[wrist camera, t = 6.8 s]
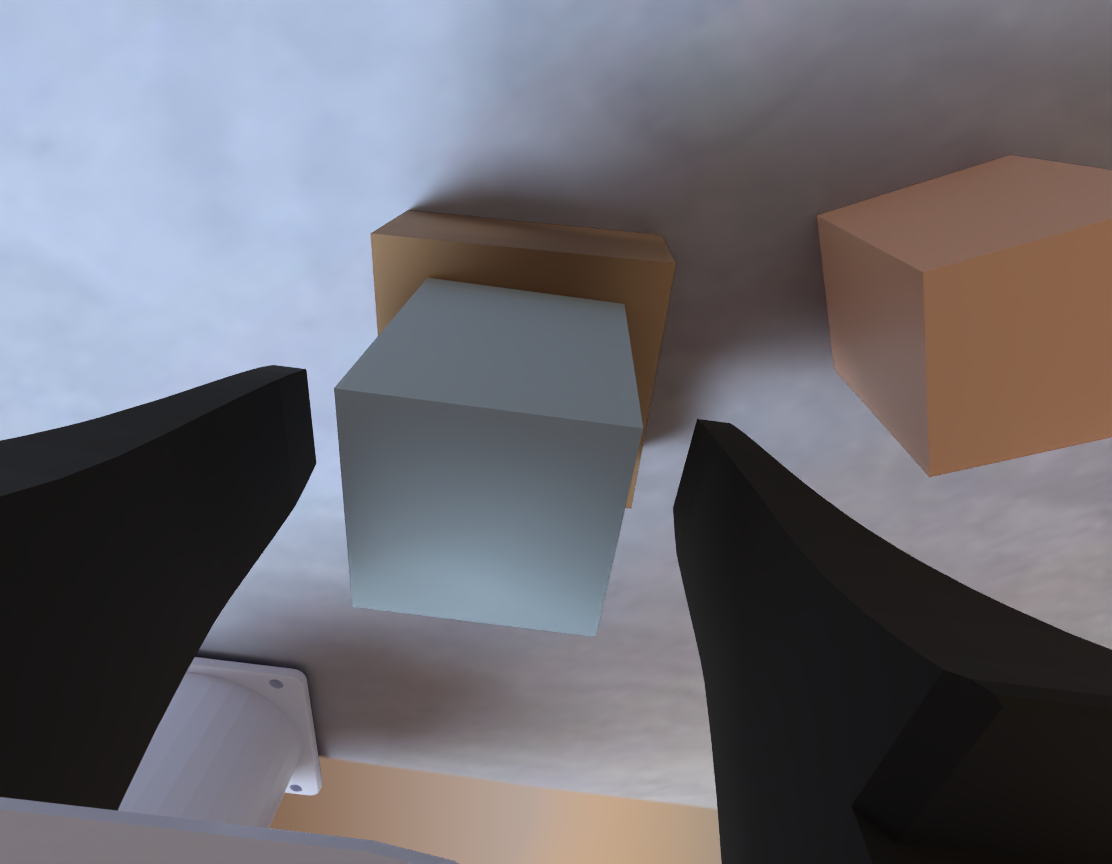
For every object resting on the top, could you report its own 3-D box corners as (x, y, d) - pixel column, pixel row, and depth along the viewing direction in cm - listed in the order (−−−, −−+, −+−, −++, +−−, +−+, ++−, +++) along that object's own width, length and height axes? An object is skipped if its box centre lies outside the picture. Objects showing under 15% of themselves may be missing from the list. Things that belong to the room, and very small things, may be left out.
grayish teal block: (426, 444, 14) (351, 607, 10) (427, 277, 12) (334, 388, 8) (594, 466, 14) (596, 637, 10) (624, 303, 12) (643, 428, 8)
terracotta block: (833, 368, 15) (929, 476, 11) (815, 214, 13) (922, 273, 9) (1003, 324, 14) (1177, 422, 10) (1008, 154, 13) (1224, 186, 8)
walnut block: (419, 425, 17) (388, 484, 14) (411, 207, 14) (370, 233, 12) (624, 445, 17) (631, 508, 14) (660, 232, 14) (676, 262, 11)
